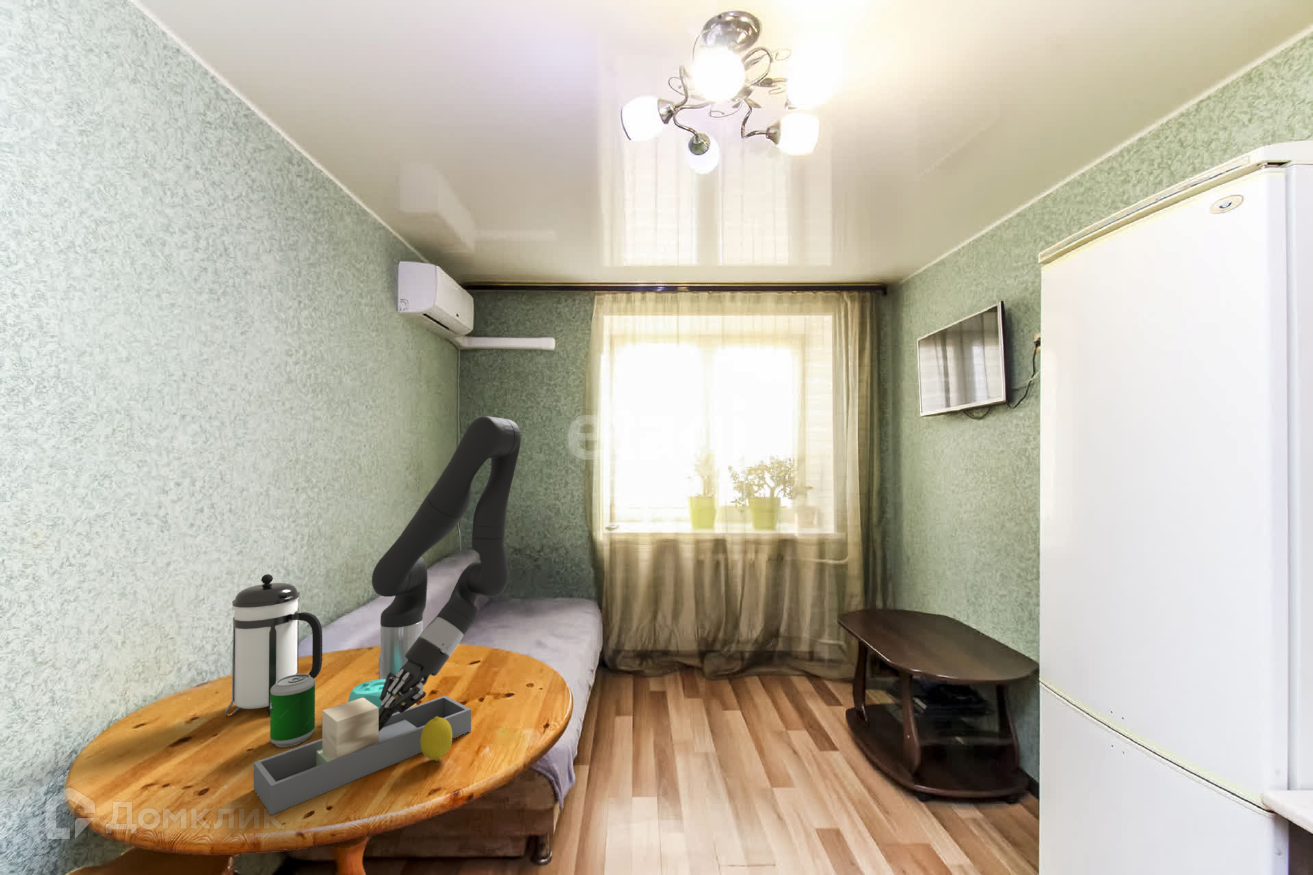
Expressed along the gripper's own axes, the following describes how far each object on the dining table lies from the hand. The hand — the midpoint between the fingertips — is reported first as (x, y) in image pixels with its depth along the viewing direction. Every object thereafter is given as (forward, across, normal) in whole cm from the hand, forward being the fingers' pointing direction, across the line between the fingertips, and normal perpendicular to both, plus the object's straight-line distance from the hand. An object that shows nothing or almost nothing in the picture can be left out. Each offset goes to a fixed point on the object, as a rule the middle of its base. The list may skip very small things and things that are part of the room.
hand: (373, 728), depth 104 cm
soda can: (+9, -20, -2) cm, 22 cm away
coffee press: (+8, -43, 0) cm, 43 cm away
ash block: (+5, 0, -1) cm, 5 cm away
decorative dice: (0, -14, +8) cm, 16 cm away
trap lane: (+4, 0, +4) cm, 5 cm away
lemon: (-1, +10, +9) cm, 14 cm away
